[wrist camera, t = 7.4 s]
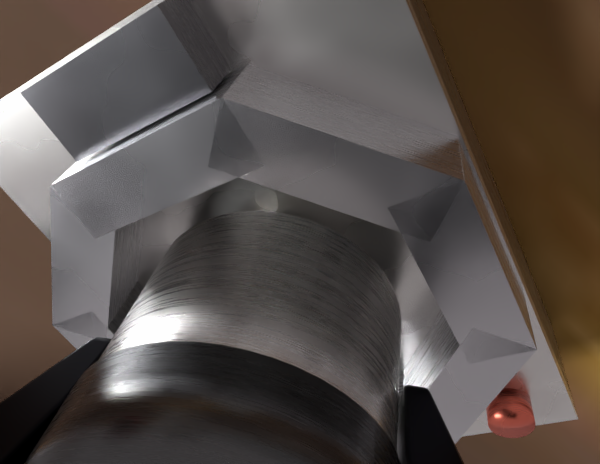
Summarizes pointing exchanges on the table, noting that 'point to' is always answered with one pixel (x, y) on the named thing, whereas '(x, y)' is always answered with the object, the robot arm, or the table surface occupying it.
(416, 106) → the camera body
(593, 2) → the table surface
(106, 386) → the lens
